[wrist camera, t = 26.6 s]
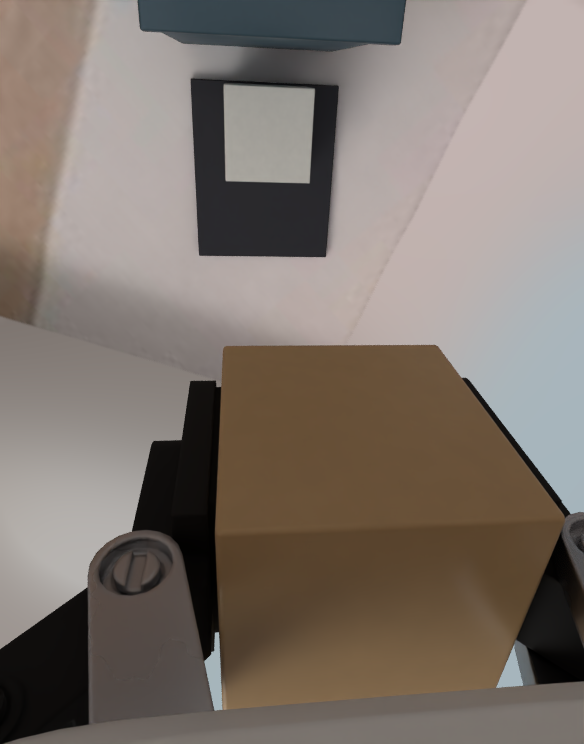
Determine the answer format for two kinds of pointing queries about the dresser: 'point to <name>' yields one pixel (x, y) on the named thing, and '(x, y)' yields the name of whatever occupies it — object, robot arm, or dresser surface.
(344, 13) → the storage box
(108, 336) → the dresser surface
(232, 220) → the mat
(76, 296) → the dresser surface
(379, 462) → the kraft box
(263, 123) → the cream box
